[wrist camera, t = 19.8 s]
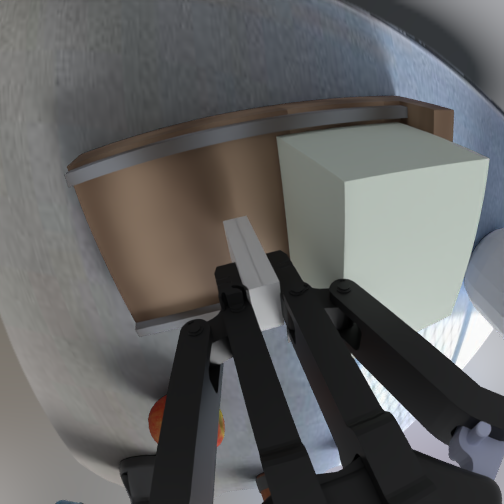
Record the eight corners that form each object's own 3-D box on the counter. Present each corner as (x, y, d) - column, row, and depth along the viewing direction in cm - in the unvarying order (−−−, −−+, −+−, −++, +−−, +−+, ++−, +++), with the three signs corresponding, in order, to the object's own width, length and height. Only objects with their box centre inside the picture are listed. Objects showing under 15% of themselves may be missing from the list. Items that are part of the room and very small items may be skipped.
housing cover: (292, 281, 23) (336, 364, 17) (276, 136, 17) (344, 181, 10) (390, 252, 24) (450, 315, 18) (397, 122, 18) (489, 158, 11)
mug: (249, 484, 63) (259, 521, 53) (259, 471, 57) (271, 513, 47) (280, 479, 65) (291, 514, 56) (293, 465, 59) (308, 505, 50)
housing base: (142, 307, 26) (139, 366, 20) (80, 154, 18) (45, 186, 12) (391, 241, 28) (430, 279, 23) (396, 95, 20) (453, 110, 15)
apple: (221, 405, 37) (233, 458, 30) (160, 414, 35) (165, 467, 29) (210, 371, 32) (222, 434, 26) (139, 383, 31) (140, 444, 24)
